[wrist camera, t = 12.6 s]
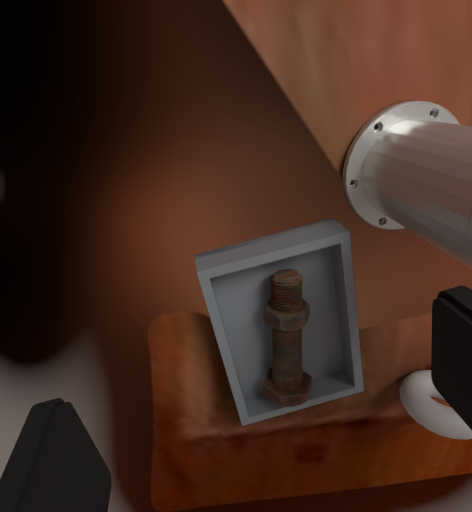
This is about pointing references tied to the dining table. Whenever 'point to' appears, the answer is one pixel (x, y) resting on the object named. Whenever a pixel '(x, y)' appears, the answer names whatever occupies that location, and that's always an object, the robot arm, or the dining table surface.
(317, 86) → the dining table surface
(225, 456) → the dining table surface
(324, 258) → the bin
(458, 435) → the donut
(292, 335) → the bolt
